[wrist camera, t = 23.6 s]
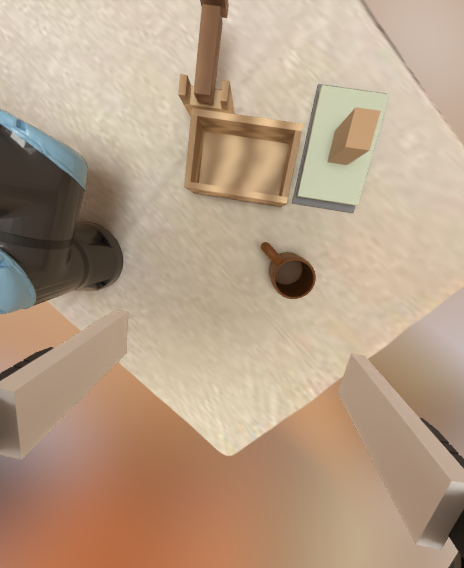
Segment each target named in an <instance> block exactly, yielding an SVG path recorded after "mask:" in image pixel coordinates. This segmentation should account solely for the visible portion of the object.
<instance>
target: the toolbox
mask: <svg viewBox="0 0 464 568" xmlns="http://www.w3.org/2000/svg"><path fill="white" fill-rule="evenodd" d="M178 95H179V96H180V98H181V100H182V102H183V104H184V106H185V107H186V109H187V111H188V113H189V115H190V116H191V122H190V133H189V143H188V153H187V164H186V174H185V184H184V187H185V188H187V189H188V190H190V191H192V192H193V193H198V194H204V195H210V196H216V197H222V198H229V199H235V200H241V201H247V202H254V203H260V204H266V205H272V206H279V207H282V206H283V205H285V204H286V203H287V199H288V194H289V189H290V185H291V180H292V175H293V170H294V165H295V161H296V156H297V151H298V146H299V142H300V137H301V132H302V127H303V124H299V123H293V122H286V121H279V120H272V119H265V118H258V117H251V116H244V115H237V114H234V108H233V101H232V95H231V88H230V81H225V80H223V81H222V89H221V90H218V89H215V91H214V100H213V104H206V103H199V102H197V100H196V97H195V95H194V86H191V84H190V81H189V79H188V76H187V75H182V74H180V82H179V94H178Z"/></svg>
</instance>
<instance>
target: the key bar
mask: <svg viewBox="0 0 464 568" xmlns="http://www.w3.org/2000/svg"><path fill="white" fill-rule="evenodd" d="M200 1H201V6H202V12H201V22H200V33H199V43H198V53H197V64H196V74H195V84H194V95H195V97H196V100H197V102H199V103H206V104H213V100H214V91H215V83H216V74H217V66H218V57H219V49H220V40H221V32H222V17H223V18H227V14H228V6H229V5H228V0H200Z"/></svg>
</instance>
